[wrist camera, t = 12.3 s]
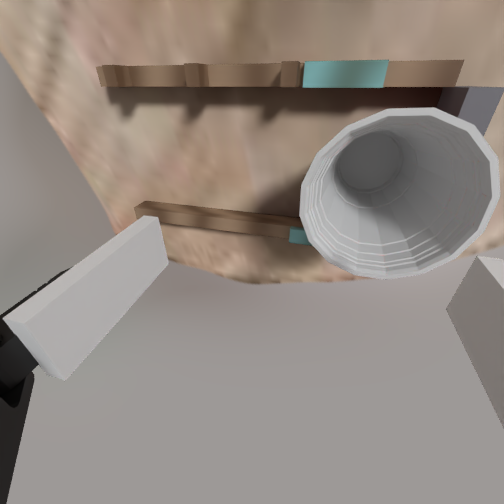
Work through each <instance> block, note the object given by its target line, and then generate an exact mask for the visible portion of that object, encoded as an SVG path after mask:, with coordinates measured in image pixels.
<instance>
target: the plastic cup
mask: <svg viewBox="0 0 504 504" xmlns="http://www.w3.org/2000/svg"><path fill="white" fill-rule="evenodd" d="M499 198H500V181H499V164H498V157H497V155H496V154H495V153H494V151H493V150H492V148H491V147H490V146H489V144H488V143H487V142H486V140H485V139H484V137H483V136H482V135H481V133H480V132H479V130H478V129H477V128H476V126H475V125H473V124H471V123H469V122H466V121H464V120H462V119H460V118H457V117H455V116H453V115H450V114H448V113H446V112H444V111H441V110H439V109H437V108H434V107H432V108H393V109H386V110H383V111H381V112H379V113H376V114H374V115H371V116H369V117H367V118H364V119H362V120H359V121H357V122H355V123H352V124H350V125H348V126H346V127H345V128H344V129H343V130H341V131H340V132H339V133H338V134H337V135H336V136H335V137H334V138H333V139H332V140H331V141H330V142H329V143H327V144H326V145H325V146H324V147H323V148H322V149H321V150H320V151H319V152H318V153H317V154H316V156H315V158H314V160H313V162H312V164H311V166H310V168H309V170H308V172H307V174H306V176H305V178H304V180H303V182H302V184H301V196H300V212H299V216H300V218H301V221H302V224H303V227H304V229H305V232H306V235H307V237H308V240H309V242H310V243H311V244H312V245H313V246H314V247H315V248H316V250H317V251H318V252H319V253H320V254H321V255H322V256H323V257H324V258H325V259H326V260H327V261H328V262H329V263H331V264H333V265H335V266H337V267H339V268H341V269H343V270H345V271H347V272H349V273H351V274H353V275H358V276H364V277H371V278H378V279H385V280H387V279H394V278H401V277H408V276H415V275H421V274H423V273H425V272H428V271H430V270H432V269H434V268H436V267H439V266H441V265H443V264H445V263H447V262H449V261H451V260H454V259H456V258H457V257H458V256H459V255H460V254H461V253H462V252H463V251H464V250H465V249H466V248H467V247H468V246H469V245H470V244H472V243H473V242H474V241H475V240H476V239H477V238H478V237H479V236H480V235H481V234H482V233H483V232H484V231H485V229H486V226H487V224H488V222H489V220H490V218H491V215H492V213H493V211H494V209H495V207H496V205H497V202H498V200H499Z"/></svg>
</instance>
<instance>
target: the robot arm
mask: <svg viewBox="0 0 504 504" xmlns="http://www.w3.org/2000/svg"><path fill="white" fill-rule="evenodd" d="M168 264H169V262H168V258H167V254H166V249H165V245H164V240H163V236H162V232H161V227H160V223H159V219H158V217H153V216H145V215H144V216H143V217H141V218H140V219H138V220H137V221H136V222H134V223H133V224H132V225H130V226H129V227H127V228H126V229H125V230H123V231H122V232H120V233H119V234H118V235H116V236H115V237H114V238H112V239H111V240H109V241H108V242H107V243H105V244H104V245H103V246H101V247H100V248H99V249H97V250H96V251H94V252H93V253H92V254H90V255H89V256H88V257H86V258H85V259H83V260H82V261H81V262H79V263H78V264H76V265H75V266H73V267H71V268H69V269H67V270H65V271H62V272H60V273H59V274H58V275H56V276H55V277H53V278H52V279H51V280H49V281H48V283H45V284H44V285H42V286H41V287H39V288H38V290H37V291H34V292H32V293H31V294H29V295H28V296H27V297H25V298H24V299H23V300H21V301H20V302H18V303H17V304H15V305H14V306H13V307H11V308H10V309H8V310H7V311H6V312H4V313H3V314H1V315H0V504H6V502H7V498H8V494H9V489H10V485H11V481H12V476H13V472H14V467H15V463H16V458H17V454H18V450H19V445H20V441H21V437H22V432H23V427H24V423H25V419H26V414H27V410H28V406H29V401H30V397H31V393H32V388H33V384H34V374H33V372H32V370H33V369H34V368H35V367H36V366H37V365H39V366H40V367H41V368H42V369H43V371H44V372H45V373H46V374H47V375H49V376H52V377H55V378H59V379H62V380H66V379H67V378H68V377H69V376H70V375H71V374H72V373H73V372H74V370H75V369H76V368H77V367H78V366H79V365H80V364H81V363H82V361H83V360H84V359H85V358H86V357H87V356H88V355H89V354H90V352H91V351H92V350H93V349H94V348H95V347H96V346H97V345H98V343H99V342H100V341H101V340H102V339H103V338H104V336H105V335H106V334H107V333H108V332H109V331H110V330H111V329H112V328H113V326H114V325H115V324H116V323H117V322H118V321H119V319H121V317H122V316H123V315H124V314H125V313H126V312H127V310H128V309H129V308H130V307H131V306H132V305H133V304H134V303H135V302H136V300H137V299H138V298H139V297H140V296H141V295H142V294H143V292H144V291H145V290H146V289H147V288H148V287H149V286H150V285H151V283H152V282H153V281H154V280H155V279H156V278H157V277H158V276H159V274H160V273H161V272H162V271H163V270H164V269H165V267H167V265H168ZM446 310H447V312H448V314H449V316H450V318H451V320H452V322H453V324H454V327H455V329H456V331H457V333H458V335H459V337H460V339H461V341H462V343H463V345H464V347H465V349H466V352H467V353H468V356H469V358H470V360H471V362H472V364H473V366H474V368H475V370H476V372H477V374H478V376H479V378H480V380H481V382H482V385H483V387H484V389H485V390H486V393H487V395H488V397H489V399H490V401H491V403H492V405H493V407H494V409H495V411H496V413H497V415H498V418H499V420H500V422H501V424H502V426H503V428H504V261H503V260H502V259H498V258H490V257H482V256H477V257H476V258H475V260H474V262H473V263H472V265H471V267H470V269H469V270H468V272H467V274H466V276H465V277H464V279H463V281H462V282H461V284H460V286H459V287H458V289H457V291H456V293H455V294H454V296H453V298H452V300H451V302H450V303H449V305H448V306H447V308H446Z"/></svg>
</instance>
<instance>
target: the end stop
mask: <svg viewBox="0 0 504 504" xmlns="http://www.w3.org/2000/svg"><path fill="white" fill-rule="evenodd" d="M503 92H504V87H472V86H455V87H443V90H442V93H441V96H440V99H439V102H438V105H437V107H436V108H437V109H439V110H441V111H444V112H446V113H448V114H450V115H453V116H455V117H457V118H460V119H462V120H464V121H466V122H469V123H471V124H473V125H475V126H476V128H477V129H478V130H479V132H480V133H481V135H482V136H484V134H485V132H486V130H487V127H488V125H489V123H490V121H491V119H492V116H493V114H494V112H495V110H496V107H497V105H498V103H499V101H500V99H501V96H502V94H503Z"/></svg>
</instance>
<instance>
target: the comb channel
mask: <svg viewBox="0 0 504 504" xmlns="http://www.w3.org/2000/svg"><path fill="white" fill-rule="evenodd" d="M463 62H464V60H430V61H389V60H354V61H305V63H300V62H298V61H288V62H282V63H271V64H218V65H206V64H199V63H189V64H184V65H165V66H119V65H102V67H96V69H97V73H98V77H99V80H100V84H101V87H303V88H383V87H455V84H456V82H457V79H458V76H459V73H460V71H461V68H462V65H463ZM134 210H135V213H136V217H137V219H140V218H141V217H143V216H144V215H145V216H153V217H158V219H159V222H163V223H170V224H178V225H186V226H193V227H201V228H209V229H216V230H224V231H232V232H239V233H247V234H255V235H262V236H270V237H278V238H285V239H289V243H296V244H304V245H311V246H313V245H312V244H311V243H310V242H309V240H308V237H307V235H306V232H305V229H304V227H303V224H302V221H301V218H295V217H286V216H277V215H268V214H259V213H250V212H241V211H232V210H223V209H214V208H205V207H196V206H187V205H178V204H169V203H160V202H151V201H144V202H142V203H141V204H139V205H138V206H136V207H134Z"/></svg>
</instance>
